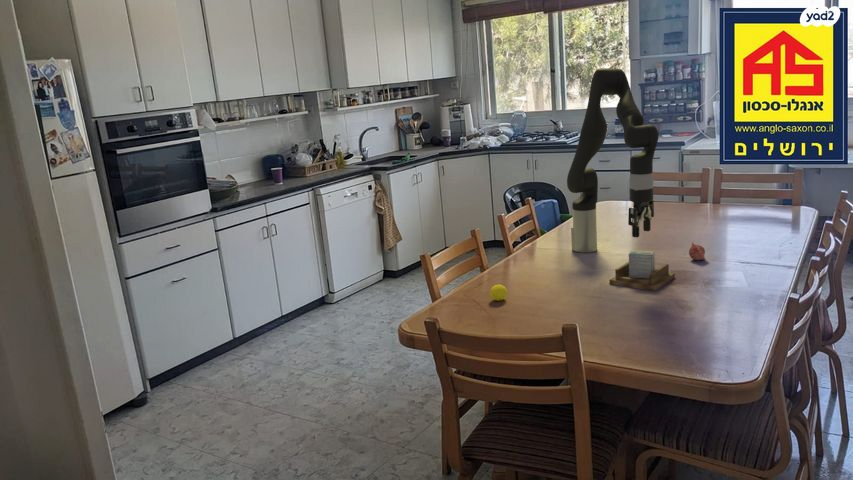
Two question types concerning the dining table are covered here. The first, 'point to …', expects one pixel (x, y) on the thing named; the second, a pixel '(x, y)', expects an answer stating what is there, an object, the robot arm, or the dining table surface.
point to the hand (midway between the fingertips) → (641, 233)
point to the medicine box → (641, 264)
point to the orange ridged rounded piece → (697, 252)
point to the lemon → (498, 292)
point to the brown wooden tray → (653, 283)
